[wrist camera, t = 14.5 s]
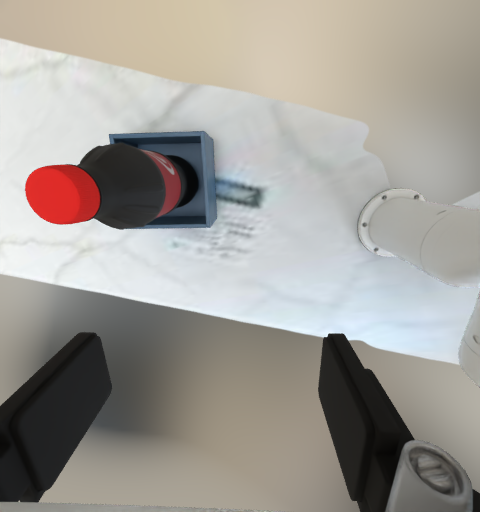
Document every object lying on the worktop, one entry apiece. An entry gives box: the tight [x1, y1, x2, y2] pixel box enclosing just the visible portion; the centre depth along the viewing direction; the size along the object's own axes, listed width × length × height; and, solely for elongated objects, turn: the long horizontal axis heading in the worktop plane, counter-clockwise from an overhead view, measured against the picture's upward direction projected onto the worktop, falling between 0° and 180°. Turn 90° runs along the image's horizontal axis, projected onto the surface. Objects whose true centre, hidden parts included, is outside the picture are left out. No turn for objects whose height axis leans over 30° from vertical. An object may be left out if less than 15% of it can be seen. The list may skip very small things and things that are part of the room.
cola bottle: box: [25, 143, 198, 229], centre depth 30 cm, size 8×8×30 cm
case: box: [109, 131, 217, 229], centre depth 41 cm, size 14×14×9 cm
